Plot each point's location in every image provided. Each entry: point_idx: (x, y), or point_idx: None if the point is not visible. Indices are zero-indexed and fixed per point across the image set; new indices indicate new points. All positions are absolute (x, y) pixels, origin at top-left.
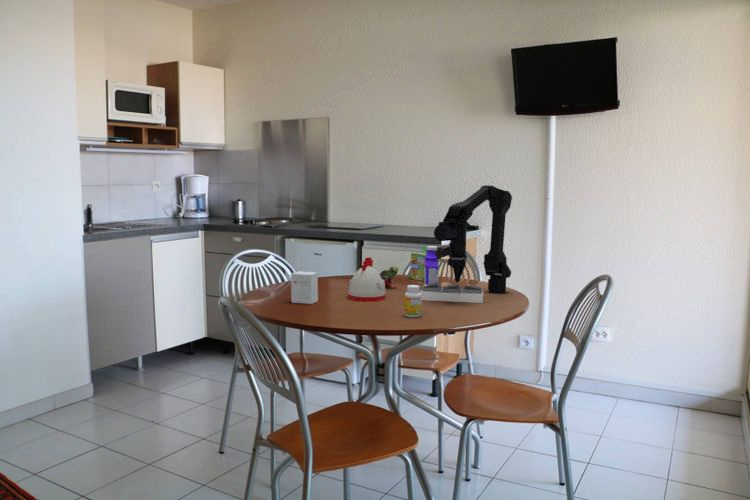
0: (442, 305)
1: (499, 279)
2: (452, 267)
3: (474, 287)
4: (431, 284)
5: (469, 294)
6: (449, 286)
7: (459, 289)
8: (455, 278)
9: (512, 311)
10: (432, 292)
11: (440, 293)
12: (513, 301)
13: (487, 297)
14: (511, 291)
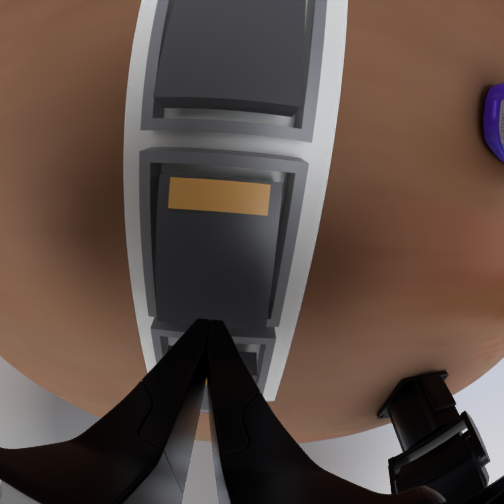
0: (35, 161)
1: (405, 442)
2: (58, 446)
3: None
4: (242, 26)
5: (141, 339)
6: (172, 232)
7: (147, 305)
8: (179, 343)
9: (69, 398)
10: (132, 64)
11: (124, 134)
12: None
13: (307, 381)
14: None
